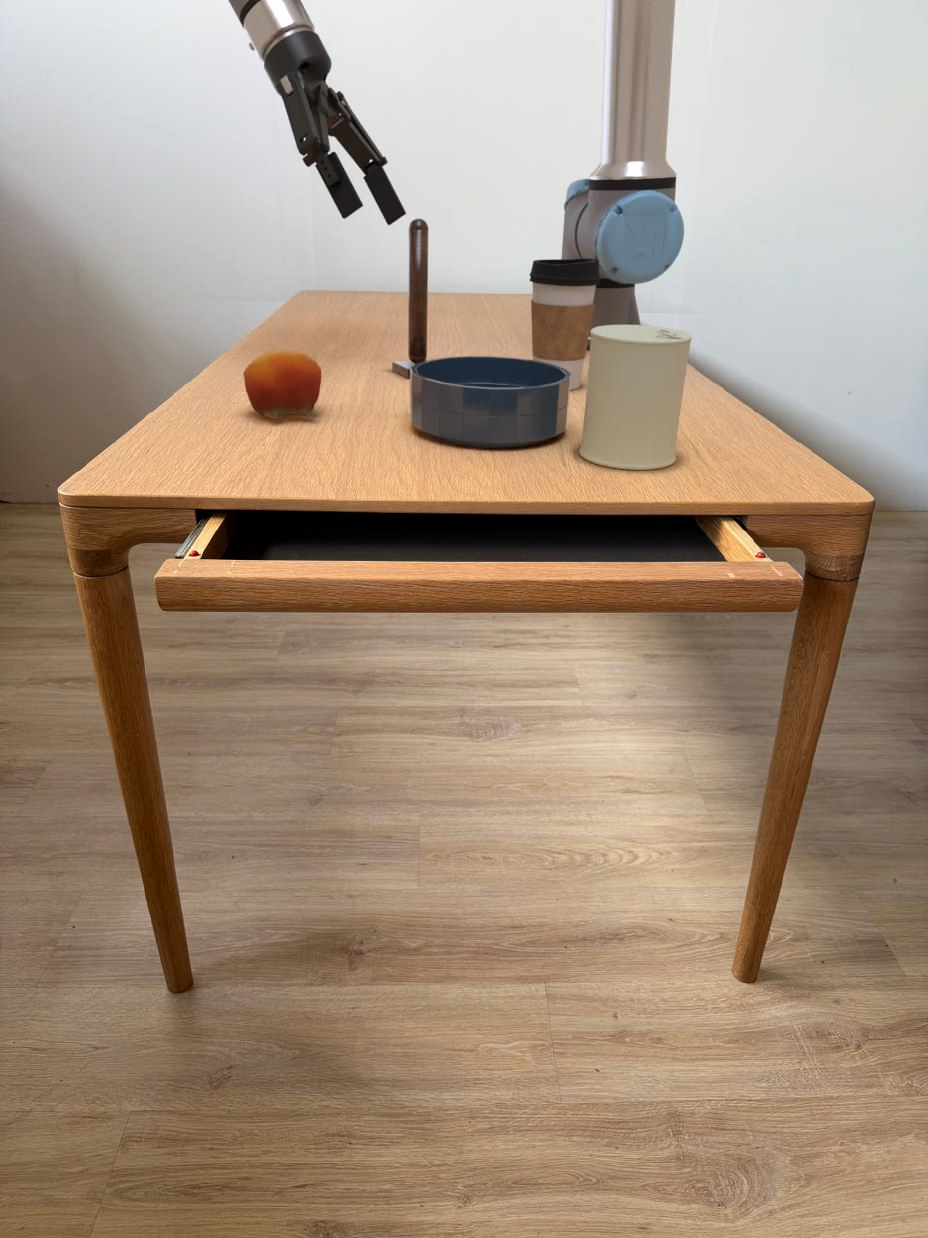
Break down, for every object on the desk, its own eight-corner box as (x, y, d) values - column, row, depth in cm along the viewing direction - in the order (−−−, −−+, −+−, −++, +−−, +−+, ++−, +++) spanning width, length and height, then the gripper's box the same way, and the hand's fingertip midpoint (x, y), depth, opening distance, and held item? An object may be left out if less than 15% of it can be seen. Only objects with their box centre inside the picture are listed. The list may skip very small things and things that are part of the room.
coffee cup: (587, 395, 112) (599, 263, 105) (518, 389, 113) (525, 259, 106) (592, 381, 119) (604, 257, 112) (527, 376, 120) (535, 253, 114)
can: (654, 476, 83) (672, 339, 78) (562, 458, 87) (573, 327, 82) (689, 453, 90) (707, 326, 85) (602, 437, 94) (615, 315, 89)
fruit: (264, 417, 91) (247, 339, 92) (248, 440, 99) (233, 368, 99) (340, 410, 95) (324, 335, 95) (320, 433, 102) (305, 363, 102)
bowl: (547, 410, 104) (551, 356, 101) (582, 450, 90) (588, 388, 87) (405, 410, 102) (405, 355, 99) (417, 451, 88) (418, 388, 85)
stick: (426, 368, 123) (428, 217, 115) (443, 375, 119) (446, 219, 111) (392, 370, 121) (391, 216, 113) (407, 378, 117) (408, 219, 109)
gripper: (313, 87, 122) (390, 236, 125) (208, 44, 100) (306, 227, 103) (357, 51, 119) (435, 205, 122) (259, -2, 96) (358, 188, 100)
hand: (376, 215), depth 112 cm, fingers open, 13 cm apart
